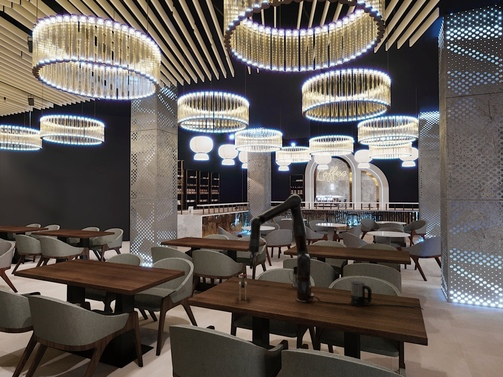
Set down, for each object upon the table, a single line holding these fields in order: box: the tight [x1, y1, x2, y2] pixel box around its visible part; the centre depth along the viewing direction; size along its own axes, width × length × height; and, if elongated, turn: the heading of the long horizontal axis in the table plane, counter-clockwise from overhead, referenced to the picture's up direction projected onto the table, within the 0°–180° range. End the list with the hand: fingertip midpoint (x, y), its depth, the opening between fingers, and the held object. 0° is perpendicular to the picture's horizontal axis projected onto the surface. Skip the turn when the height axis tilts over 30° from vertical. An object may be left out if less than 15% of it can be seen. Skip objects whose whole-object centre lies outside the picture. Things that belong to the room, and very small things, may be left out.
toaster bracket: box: [238, 281, 248, 301], centre depth 231 cm, size 10×8×13 cm
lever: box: [239, 274, 247, 289], centre depth 235 cm, size 12×5×2 cm, turn 1°
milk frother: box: [350, 280, 373, 307], centre depth 228 cm, size 14×16×15 cm
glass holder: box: [288, 266, 297, 288], centre depth 269 cm, size 9×14×15 cm, turn 124°
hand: (252, 267), depth 235 cm, fingers open, 8 cm apart
